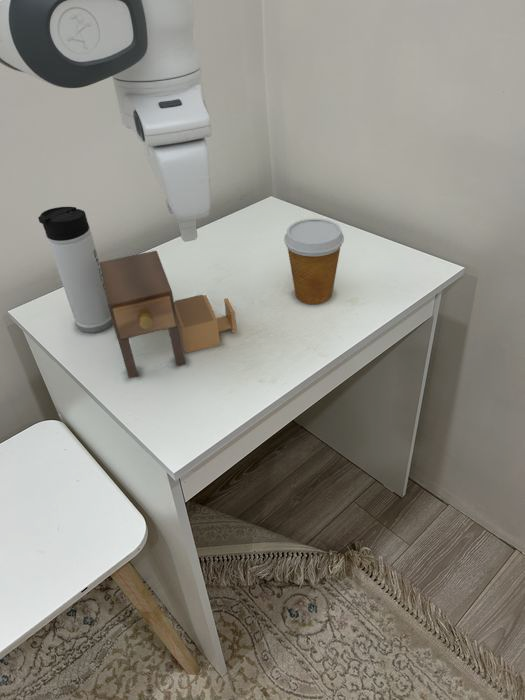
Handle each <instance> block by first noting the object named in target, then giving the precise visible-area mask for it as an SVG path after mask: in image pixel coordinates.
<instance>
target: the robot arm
mask: <svg viewBox="0 0 525 700" xmlns="http://www.w3.org/2000/svg"><path fill="white" fill-rule="evenodd" d="M193 3H194V2H193V0H0V64H1V65H3V66H5V67H6V68H9V69H11V70H13V71H17V72H20V73H24V74H27V75H29V76H31V77H33V78H35V79H37V80H39V81H41V82H44V83H46V84H48V85H50V86H54V87H57V88H64V89H80V88H85V87H89V86H92V85H94V84H97V83H99V82H102V81H104V80H107V79H109V78H111V77H112V81H113V86H114V90H115V95H116V100H117V104H118V109H119V115H120V118H121V123H122V125H123V126H124V127H125V128H127V129H130V130H132V131H133V132H134V133H135V134H136V136H137V139H138V141H140V142H142V143H143V147H144V151H145V156H146V160H147V162H148V165H149V166H150V168H151V171H152V172H153V175H154V176H155V178H156V181H157V183H158V185H159V187H160V189H161V191H162V193H163V195H164V198H165V202H166V203H165V204H166V208H167V210H168V212H169V213H170V214H171V215H173V216H174V219H175V221H177V226H178V227H177V228H178V232H179V235H180V237H181V240H182V241H183V242H191V241H195V240H197V238H198V230H197V220H199V219H204V218H207V217H209V215H210V212H211V206H212V196H211V195H212V194H211V193H212V191H211V173H210V157H209V149H208V143H207V140H206V138H210V137H211V136H212V133H213V131H212V123H211V122H212V121H211V117H210V114H209V110H208V108H207V106H206V105H207V104H206V99H205V92H204V87H203V86H204V85H203V78H202V69H201V62H200V58H199V56H198V53H197V51H196V48H195V43H194V36H193V35H194V24H195V23H194V22H195V9H194V4H193Z"/></svg>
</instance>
